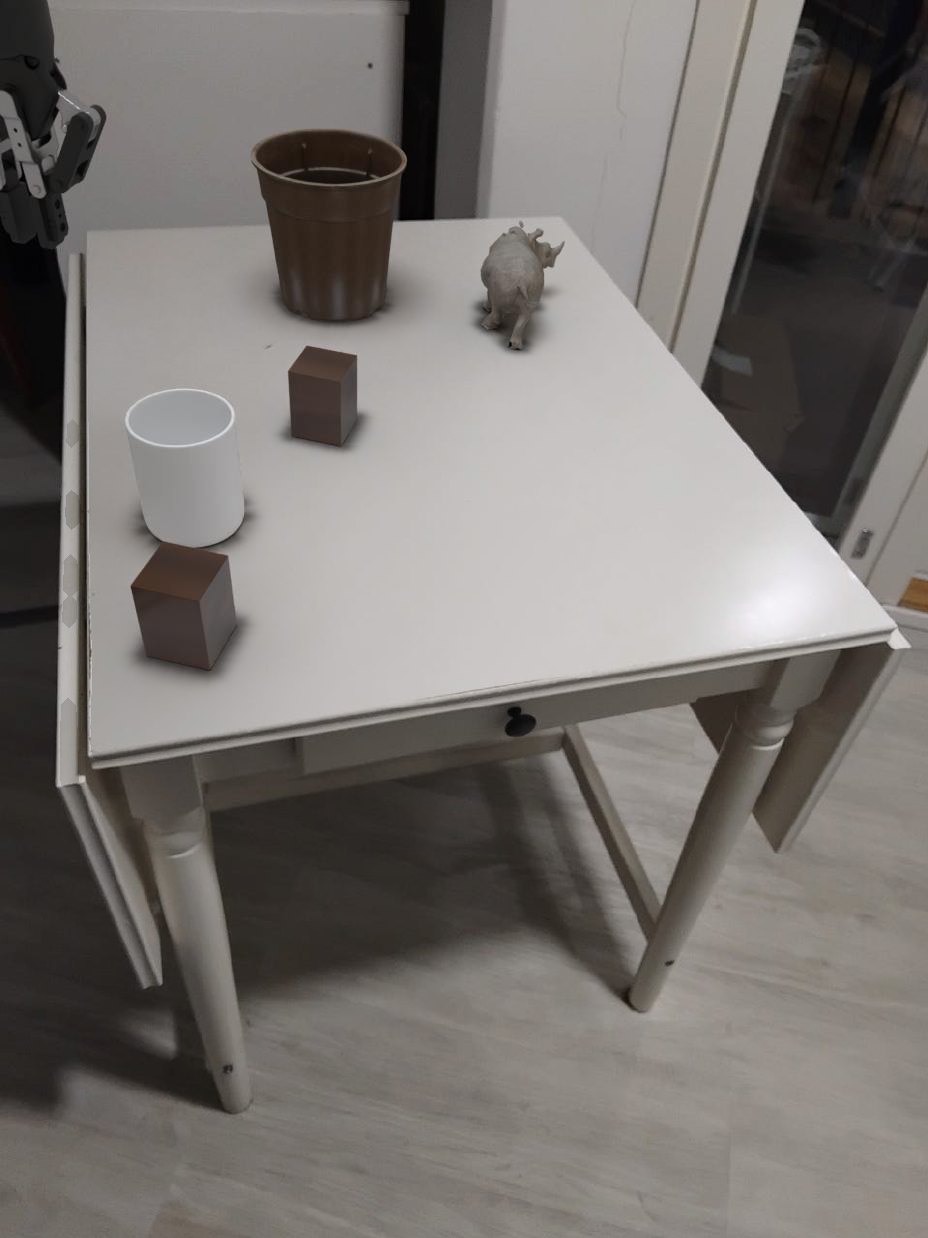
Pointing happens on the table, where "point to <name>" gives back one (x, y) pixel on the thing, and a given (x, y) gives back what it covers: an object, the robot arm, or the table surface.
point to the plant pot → (330, 217)
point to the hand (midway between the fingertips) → (39, 240)
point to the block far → (323, 395)
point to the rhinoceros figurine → (516, 278)
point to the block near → (185, 605)
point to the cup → (187, 465)
